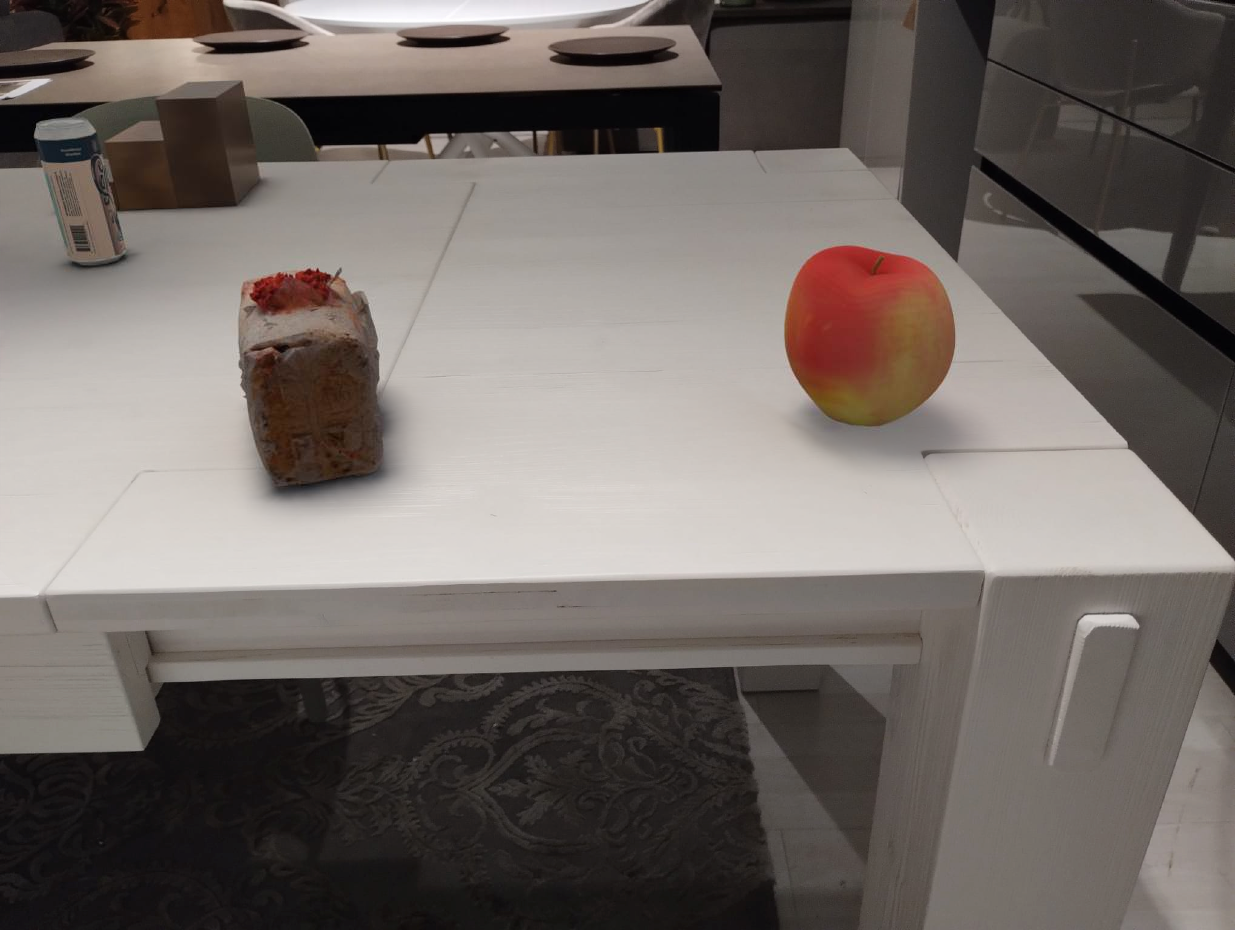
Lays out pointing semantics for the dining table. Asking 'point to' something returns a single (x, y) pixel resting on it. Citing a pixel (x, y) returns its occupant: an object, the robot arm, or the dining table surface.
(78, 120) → the beer can
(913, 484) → the dining table surface
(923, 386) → the apple
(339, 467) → the food item
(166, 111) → the step shelf
